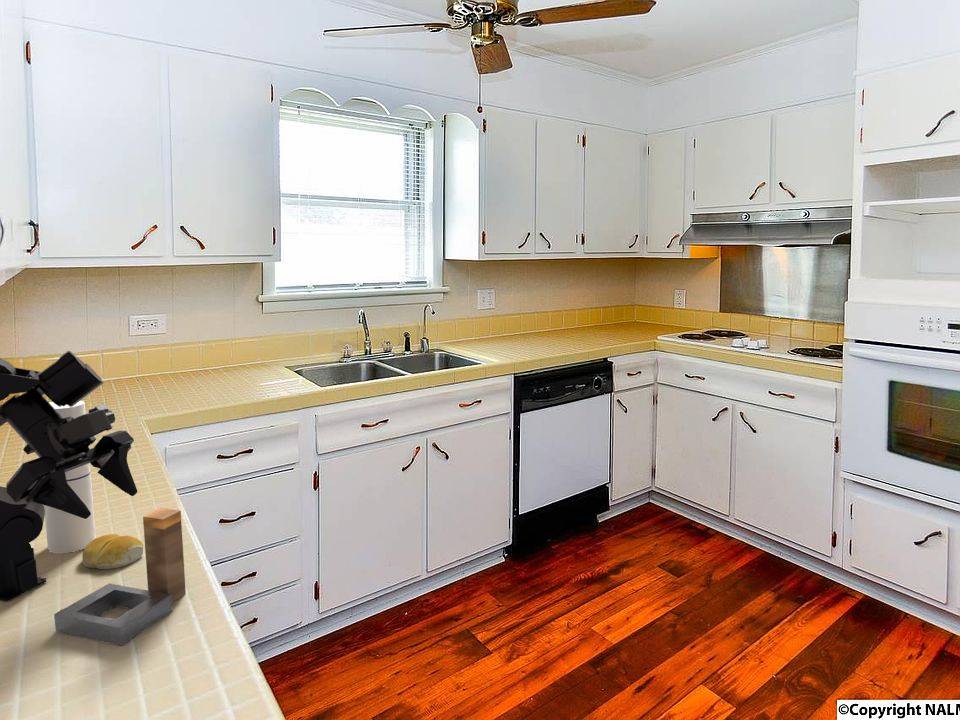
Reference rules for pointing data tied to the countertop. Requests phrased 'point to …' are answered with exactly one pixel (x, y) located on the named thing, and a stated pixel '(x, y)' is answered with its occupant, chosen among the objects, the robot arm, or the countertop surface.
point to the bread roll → (112, 551)
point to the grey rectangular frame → (121, 630)
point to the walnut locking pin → (164, 552)
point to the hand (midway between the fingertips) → (112, 504)
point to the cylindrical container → (66, 527)
